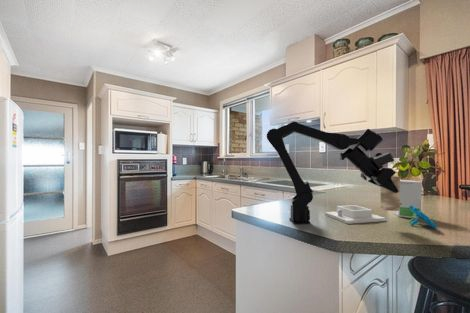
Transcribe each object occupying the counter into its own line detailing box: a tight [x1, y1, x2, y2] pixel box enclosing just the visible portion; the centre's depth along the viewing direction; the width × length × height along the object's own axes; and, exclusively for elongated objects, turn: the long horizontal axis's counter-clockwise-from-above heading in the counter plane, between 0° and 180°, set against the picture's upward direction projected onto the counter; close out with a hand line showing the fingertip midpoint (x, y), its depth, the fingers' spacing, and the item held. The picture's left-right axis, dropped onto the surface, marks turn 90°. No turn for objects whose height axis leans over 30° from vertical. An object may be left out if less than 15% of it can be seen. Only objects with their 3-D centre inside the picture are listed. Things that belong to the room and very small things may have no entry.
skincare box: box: [393, 179, 422, 219], centre depth 99 cm, size 8×7×16 cm
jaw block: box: [380, 175, 401, 212], centre depth 82 cm, size 4×4×12 cm
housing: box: [324, 204, 387, 225], centre depth 96 cm, size 18×14×4 cm
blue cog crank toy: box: [408, 205, 438, 229], centre depth 85 cm, size 11×6×10 cm
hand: (394, 191), depth 82 cm, fingers closed on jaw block, 4 cm apart
